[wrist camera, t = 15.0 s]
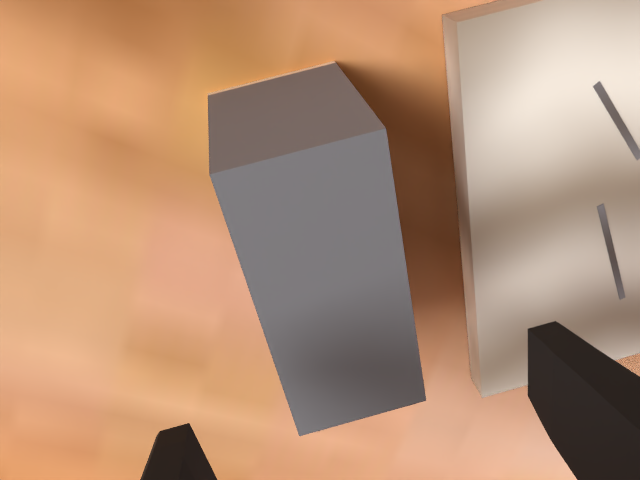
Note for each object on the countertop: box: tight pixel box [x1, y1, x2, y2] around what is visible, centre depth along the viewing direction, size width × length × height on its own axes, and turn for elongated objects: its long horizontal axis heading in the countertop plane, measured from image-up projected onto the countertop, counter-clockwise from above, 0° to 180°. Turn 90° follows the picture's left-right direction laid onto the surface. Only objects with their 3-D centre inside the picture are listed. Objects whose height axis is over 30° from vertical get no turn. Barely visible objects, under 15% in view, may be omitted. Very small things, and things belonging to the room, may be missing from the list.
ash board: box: [442, 0, 640, 398], centre depth 21 cm, size 16×13×1 cm
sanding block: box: [208, 61, 426, 436], centre depth 18 cm, size 9×4×6 cm, turn 12°
